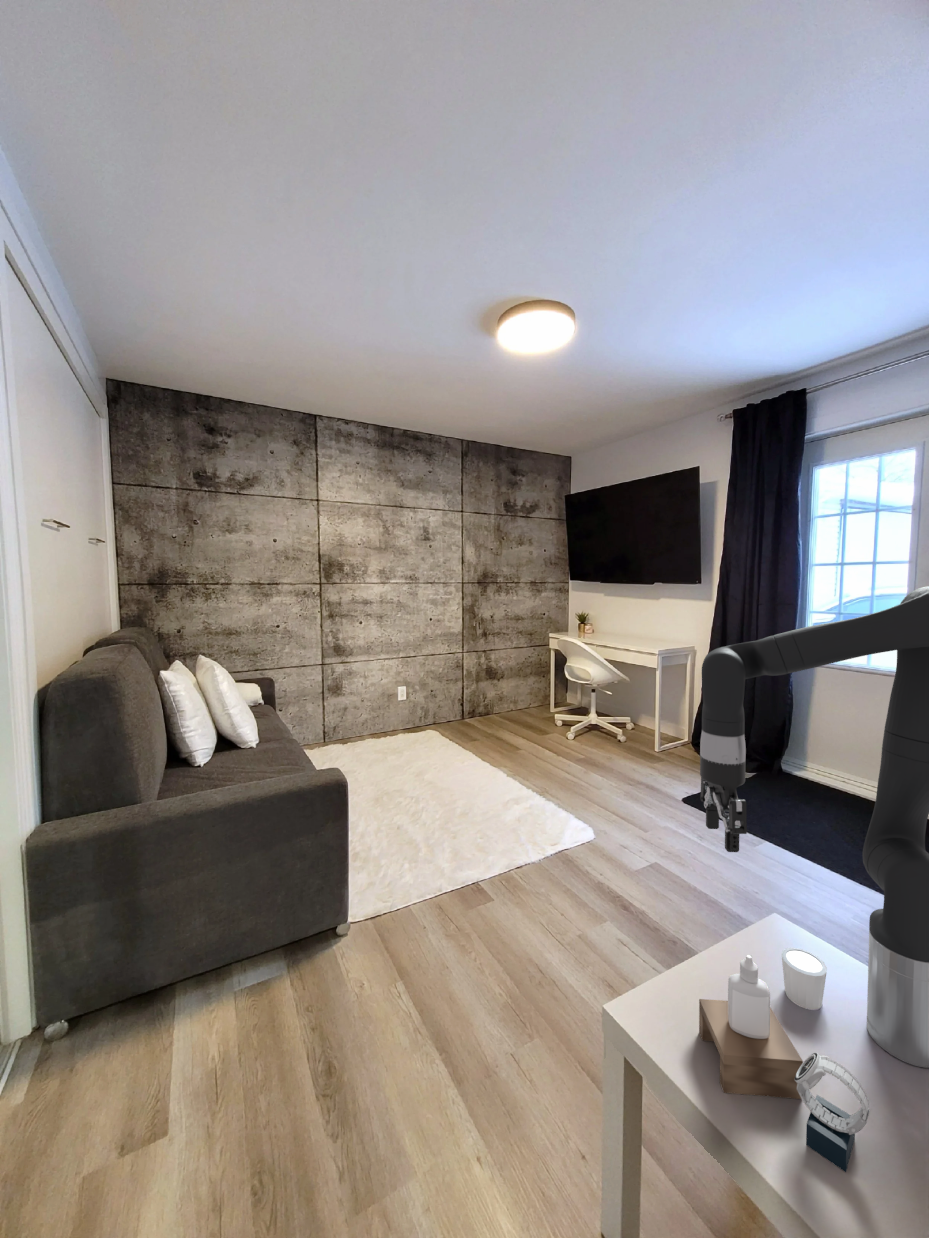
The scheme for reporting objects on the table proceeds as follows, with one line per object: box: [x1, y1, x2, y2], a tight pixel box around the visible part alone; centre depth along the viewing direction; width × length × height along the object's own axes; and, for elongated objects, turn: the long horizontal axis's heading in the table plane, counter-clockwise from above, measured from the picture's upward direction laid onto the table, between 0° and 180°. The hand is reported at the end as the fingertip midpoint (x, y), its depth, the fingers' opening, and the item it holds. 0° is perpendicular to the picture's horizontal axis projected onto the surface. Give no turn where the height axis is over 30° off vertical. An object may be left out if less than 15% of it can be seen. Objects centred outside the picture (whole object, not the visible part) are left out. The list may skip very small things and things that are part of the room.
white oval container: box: [781, 947, 828, 1011], centre depth 89 cm, size 7×7×7 cm
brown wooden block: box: [698, 998, 804, 1100], centre depth 77 cm, size 11×10×6 cm
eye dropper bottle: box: [727, 954, 771, 1039], centre depth 76 cm, size 4×6×12 cm
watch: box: [795, 1052, 871, 1173], centre depth 66 cm, size 6×8×11 cm
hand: (721, 839), depth 92 cm, fingers open, 8 cm apart
